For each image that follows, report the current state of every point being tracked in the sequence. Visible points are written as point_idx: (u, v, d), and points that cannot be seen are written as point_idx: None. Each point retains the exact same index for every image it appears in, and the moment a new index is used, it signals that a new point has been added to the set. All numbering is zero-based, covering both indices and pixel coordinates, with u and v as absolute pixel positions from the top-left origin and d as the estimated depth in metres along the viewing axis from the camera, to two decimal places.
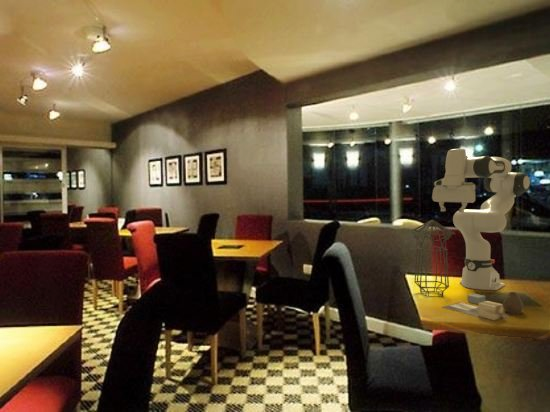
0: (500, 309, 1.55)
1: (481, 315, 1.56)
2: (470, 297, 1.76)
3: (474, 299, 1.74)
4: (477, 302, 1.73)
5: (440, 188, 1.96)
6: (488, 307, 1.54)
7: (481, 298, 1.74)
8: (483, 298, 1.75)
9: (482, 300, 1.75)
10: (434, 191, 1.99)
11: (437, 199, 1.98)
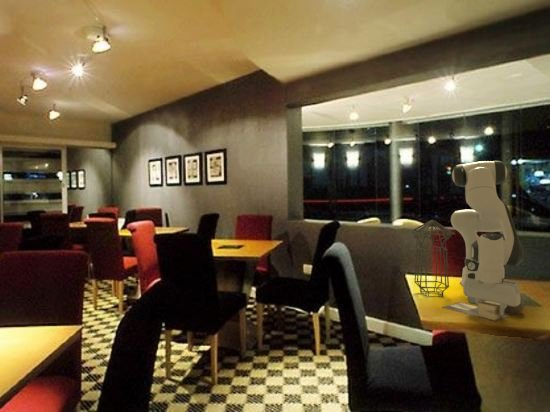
0: None
1: (481, 315, 1.56)
2: (470, 297, 1.76)
3: (474, 299, 1.74)
4: None
5: (473, 282, 1.59)
6: (488, 307, 1.54)
7: None
8: None
9: (482, 300, 1.75)
10: (466, 284, 1.62)
11: (470, 294, 1.61)
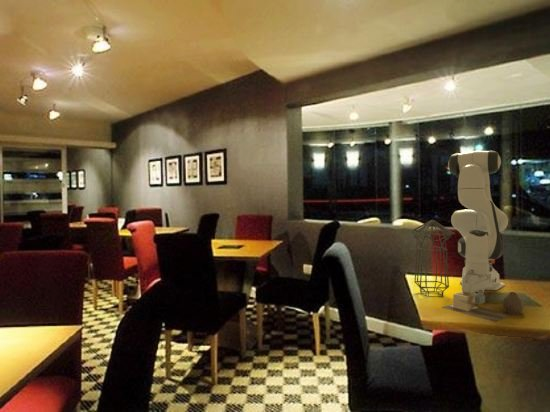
0: (473, 299, 1.68)
1: (455, 305, 1.69)
2: None
3: None
4: (478, 302, 1.73)
5: None
6: (462, 297, 1.67)
7: (481, 298, 1.74)
8: (483, 298, 1.75)
9: (482, 300, 1.75)
10: None
11: None
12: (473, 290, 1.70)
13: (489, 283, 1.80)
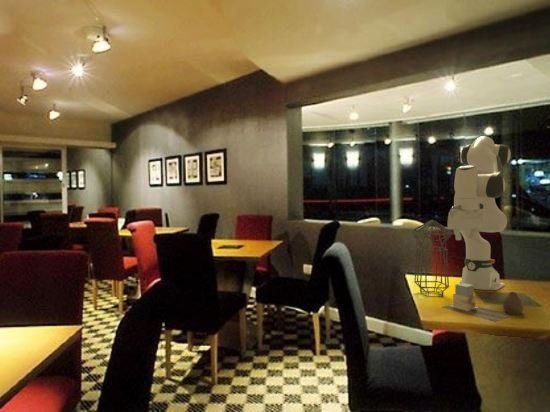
0: (473, 299, 1.68)
1: (455, 305, 1.69)
2: (458, 286, 1.69)
3: (462, 288, 1.67)
4: (465, 291, 1.66)
5: None
6: (462, 297, 1.67)
7: (469, 287, 1.67)
8: (471, 287, 1.68)
9: (470, 289, 1.67)
10: None
11: None
12: (459, 225, 1.63)
13: (481, 222, 1.71)
